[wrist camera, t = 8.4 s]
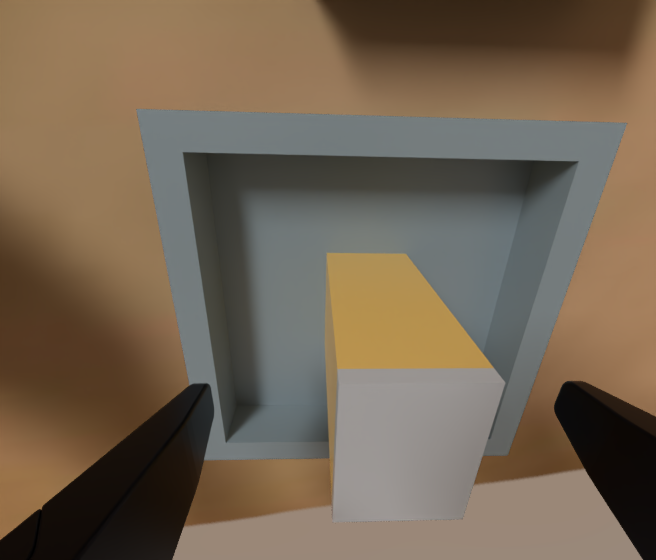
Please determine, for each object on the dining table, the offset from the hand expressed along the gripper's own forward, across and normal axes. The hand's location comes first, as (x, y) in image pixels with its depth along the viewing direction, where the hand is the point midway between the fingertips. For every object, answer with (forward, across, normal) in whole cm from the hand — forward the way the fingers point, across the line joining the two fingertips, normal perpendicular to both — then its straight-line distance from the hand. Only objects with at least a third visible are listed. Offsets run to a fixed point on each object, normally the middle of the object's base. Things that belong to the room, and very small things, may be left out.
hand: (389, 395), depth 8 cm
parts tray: (+6, 0, 0) cm, 6 cm away
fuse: (+5, 0, 0) cm, 5 cm away
